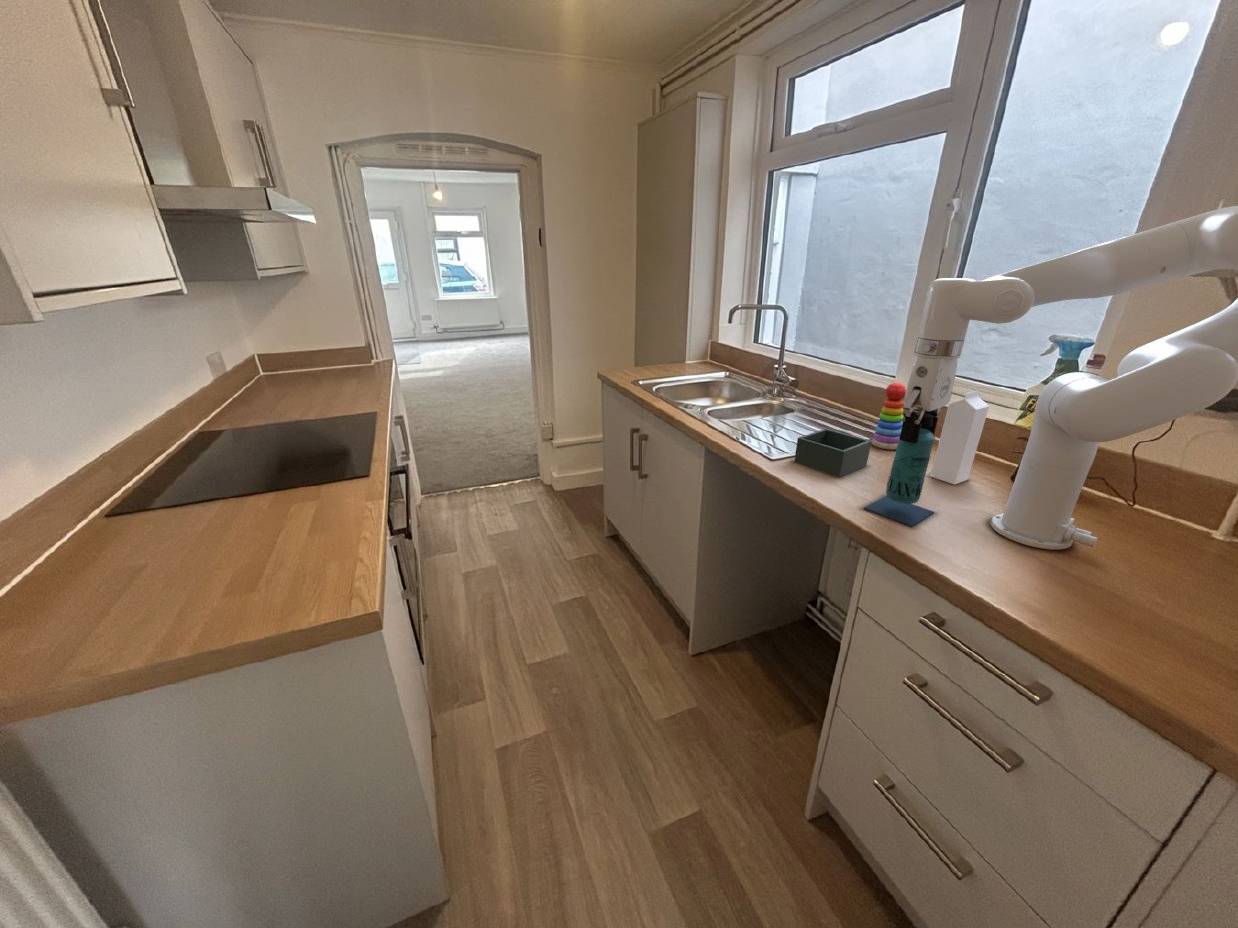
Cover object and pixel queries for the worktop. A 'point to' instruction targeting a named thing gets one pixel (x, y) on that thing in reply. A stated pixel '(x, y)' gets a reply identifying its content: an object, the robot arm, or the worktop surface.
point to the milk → (959, 439)
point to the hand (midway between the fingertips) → (916, 437)
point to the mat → (899, 511)
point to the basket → (832, 452)
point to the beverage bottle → (911, 465)
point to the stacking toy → (890, 418)
